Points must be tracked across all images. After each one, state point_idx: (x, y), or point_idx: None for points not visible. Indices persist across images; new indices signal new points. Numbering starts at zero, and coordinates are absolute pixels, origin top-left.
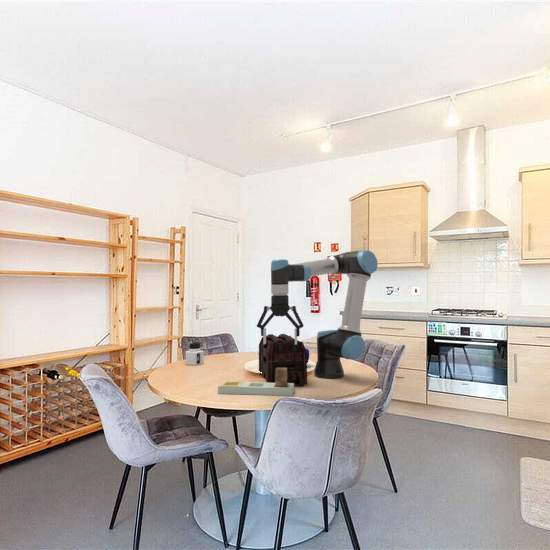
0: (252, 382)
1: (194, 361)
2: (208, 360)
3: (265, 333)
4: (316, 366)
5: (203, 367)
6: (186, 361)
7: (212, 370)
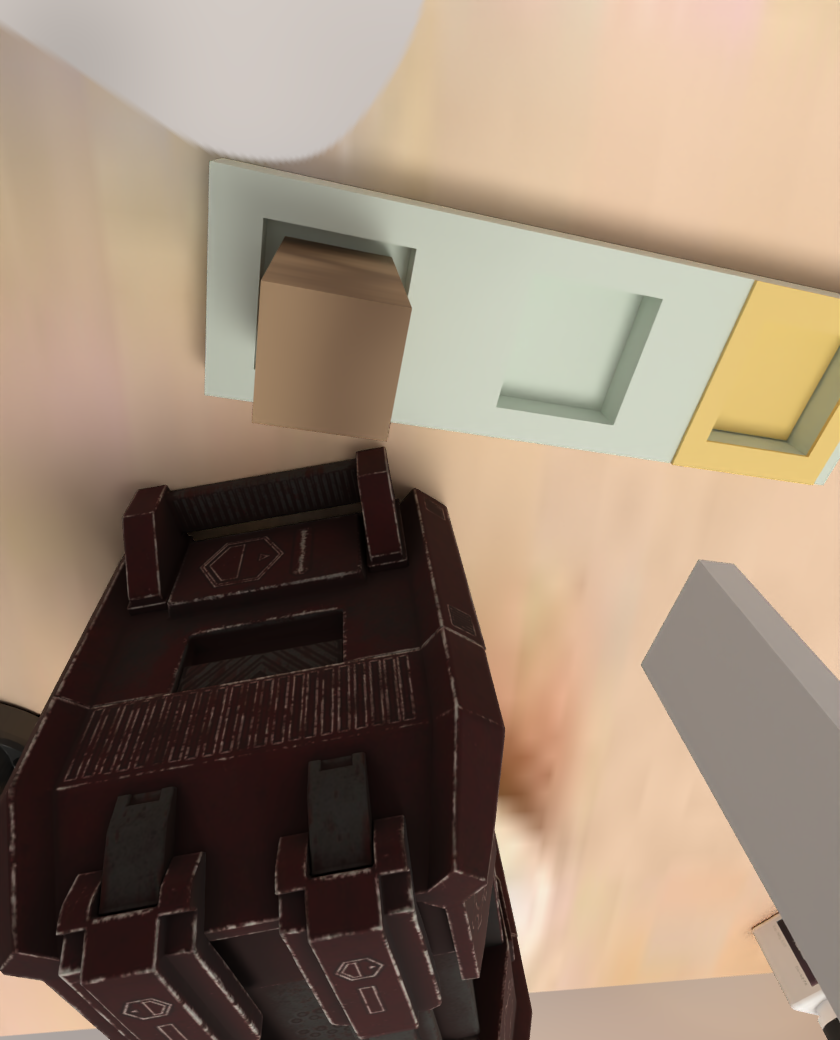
0: (598, 441)
1: None
2: (712, 970)
3: (832, 822)
4: None
5: None
6: None
7: None
